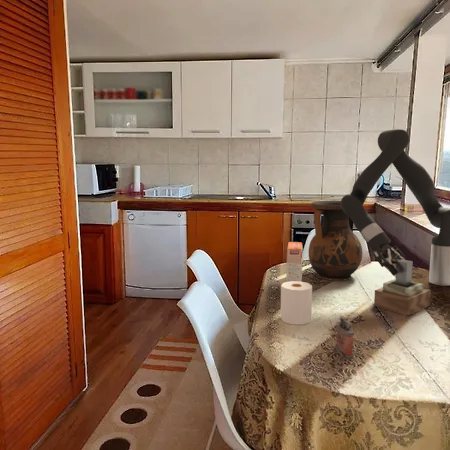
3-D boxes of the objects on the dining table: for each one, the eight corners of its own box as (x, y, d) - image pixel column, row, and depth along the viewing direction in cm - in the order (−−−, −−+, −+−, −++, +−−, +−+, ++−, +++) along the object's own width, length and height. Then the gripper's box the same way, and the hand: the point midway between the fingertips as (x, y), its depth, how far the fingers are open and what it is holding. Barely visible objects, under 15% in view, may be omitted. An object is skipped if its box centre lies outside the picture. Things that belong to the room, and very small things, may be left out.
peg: (400, 287, 152) (402, 259, 150) (410, 290, 148) (412, 261, 147) (394, 289, 149) (396, 261, 147) (405, 292, 146) (407, 263, 144)
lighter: (333, 346, 117) (334, 313, 116) (344, 345, 118) (345, 313, 116) (343, 359, 109) (345, 324, 108) (355, 358, 110) (357, 324, 108)
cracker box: (301, 302, 155) (302, 248, 151) (285, 301, 156) (286, 248, 153) (301, 290, 168) (302, 241, 165) (287, 289, 169) (287, 241, 166)
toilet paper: (275, 316, 140) (275, 283, 139) (300, 311, 144) (301, 279, 143) (291, 327, 131) (291, 291, 129) (317, 321, 135) (318, 287, 133)
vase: (319, 266, 206) (321, 198, 201) (368, 273, 192) (371, 201, 187) (299, 277, 187) (300, 202, 182) (351, 286, 173) (354, 205, 167)
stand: (396, 296, 160) (397, 275, 158) (429, 305, 150) (431, 283, 148) (374, 305, 150) (375, 283, 148) (408, 315, 140) (409, 292, 138)
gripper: (371, 233, 148) (399, 270, 141) (391, 229, 157) (419, 263, 150) (358, 245, 153) (384, 281, 146) (378, 240, 162) (404, 274, 155)
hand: (402, 272), depth 148 cm, fingers open, 8 cm apart
